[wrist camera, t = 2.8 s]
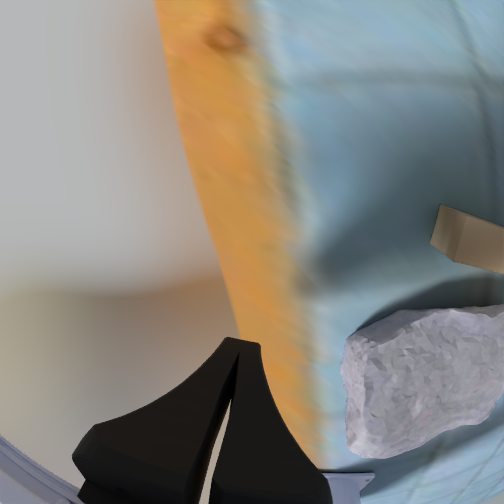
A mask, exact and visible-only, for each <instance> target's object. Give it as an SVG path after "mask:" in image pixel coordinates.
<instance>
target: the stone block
mask: <svg viewBox="0 0 504 504" xmlns="http://www.w3.org/2000/svg"><path fill="white" fill-rule="evenodd" d="M340 373H341V375H342V378H343V382H344V385H343V386H344V388H345V390H346V392H347V400H346V436H347V446H348V448H349V449H350V451H351V452H353V453H355V454H358V455H359V456H360V457H362V458H379V459H386V458H390V457H393V456H396V455H399V454H402V453H404V452H406V451H410V450H412V449H415V448H418V447H421V446H422V445H424V444H425V443H427V442H428V441H429V440H430V439H432V438H433V437H435V436H437V435H438V434H440V433H442V432H444V431H446V430H450V429H455V428H457V427H460V426H462V425H477V424H480V423H481V422H483V421H485V420H486V419H487V418H488V417H489V416H490V414H491V412H492V410H493V409H494V407H495V405H496V403H497V401H498V400H499V399H500V397H501V396H502V394H503V393H504V303H503V304H500V305H491V306H487V307H476V306H472V307H468V306H466V307H464V308H446V309H440V308H436V309H422V310H409V309H403V310H397V311H396V312H394V313H393V314H391V315H389V316H387V317H385V318H383V319H381V320H379V321H376V322H374V323H373V324H371V325H369V326H367V327H364V328H362V329H360V330H359V331H357V332H355V333H354V334H352V335H351V336H349V337H348V338H347V339H346V343H345V346H344V354H343V358H342V362H341V368H340Z"/></svg>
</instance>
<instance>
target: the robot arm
mask: <svg viewBox="0 0 504 504" xmlns="http://www.w3.org/2000/svg"><path fill="white" fill-rule="evenodd" d="M230 400H231V405H230V413H229V420H228V423H227V427H226V431H225V435H224V438H223V442H222V445H221V449H220V452H219V456H218V460H217V463H216V467H215V470H214V473H213V477H212V482H211V489H210V496H209V504H361V503H360V491H361V490H362V489H363V488H364V487H365V486H366V485H367V484H368V483H369V482H370V481H372V480H373V479H374V478H375V473H350V474H336V473H321V472H320V471H319V470H318V469H317V468H316V466H315V465H314V464H313V463H312V462H311V461H310V459H309V458H308V457H307V456H306V454H305V453H304V452H303V451H302V449H301V448H300V446H299V445H298V443H297V442H296V440H295V439H294V437H293V436H292V434H291V433H290V431H289V430H288V428H287V426H286V424H285V423H284V421H283V419H282V417H281V415H280V413H279V411H278V409H277V407H276V404H275V402H274V399H273V397H272V394H271V392H270V389H269V386H268V383H267V379H266V376H265V372H264V368H263V363H262V358H261V346H260V344H259V343H255V342H250V341H245V340H240V339H235V338H231V337H226V338H224V340H223V341H222V343H221V344H220V345H219V347H218V348H217V349H216V350H215V352H214V353H213V354H212V355H211V356H210V357H209V358H208V359H207V360H206V361H205V362H204V363H203V364H202V365H201V367H199V368H198V369H197V370H196V371H195V372H194V373H193V374H192V375H190V376H189V377H188V378H187V379H186V380H185V381H183V382H182V383H181V384H180V385H178V386H177V387H175V388H174V389H172V390H171V391H170V392H168V393H167V394H165V395H163V396H162V397H160V398H158V399H157V400H155V401H153V402H152V403H150V404H148V405H146V406H144V407H142V408H139V409H137V410H135V411H133V412H131V413H128V414H126V415H124V416H121V417H118V418H115V419H112V420H109V421H106V422H102V423H99V424H95V425H94V426H93V427H92V428H91V429H90V430H89V431H88V432H87V434H86V435H85V436H84V437H83V438H82V440H81V441H80V443H79V445H78V446H77V448H76V449H75V451H74V453H73V454H72V459H73V462H74V464H75V465H76V467H77V468H78V469H79V471H80V472H81V473H82V475H83V476H84V478H85V479H86V480H85V482H84V484H83V486H82V488H81V489H79V488H77V487H75V486H74V485H72V484H70V483H68V482H67V481H65V480H63V479H61V478H60V477H58V476H57V475H55V474H53V473H52V472H50V471H49V470H47V469H46V468H44V467H42V466H41V465H39V464H38V463H37V462H35V461H34V460H32V459H31V458H30V457H28V456H27V455H25V454H24V453H23V452H21V451H20V450H18V449H17V448H16V447H15V446H14V445H12V444H11V443H9V442H8V441H7V440H6V439H5V438H4V437H2V436H1V435H0V504H199V501H200V497H201V493H202V489H203V485H204V481H205V477H206V474H207V470H208V466H209V462H210V458H211V454H212V450H213V447H214V444H215V441H216V438H217V436H218V433H219V430H220V427H221V425H222V422H223V419H224V417H225V414H226V411H227V409H228V406H229V403H230Z"/></svg>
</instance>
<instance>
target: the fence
mask: <svg viewBox="0 0 504 504" xmlns="http://www.w3.org/2000/svg"><path fill="white" fill-rule="evenodd" d="M430 244H431V245H432V246H434V247H435V248H437V249H438V250H439V251H441V252H442V253H443V254H445V255H446V256H447V257H448V258H450V259H451V260H452V261H454V262H458V263H462V264H466V265H470V266H474V267H478V268H482V269H486V270H490V271H493V272H497V273H501V274H504V227H502V226H499V225H497V224H494V223H491V222H489V221H486V220H484V219H481V218H478V217H476V216H473V215H470V214H467V213H464V212H462V211H459V210H456V209H453V208H450V207H447V206H444V205H441V204H440V207H439V211H438V215H437V219H436V223H435V227H434V231H433V234H432V238H431V241H430Z"/></svg>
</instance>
